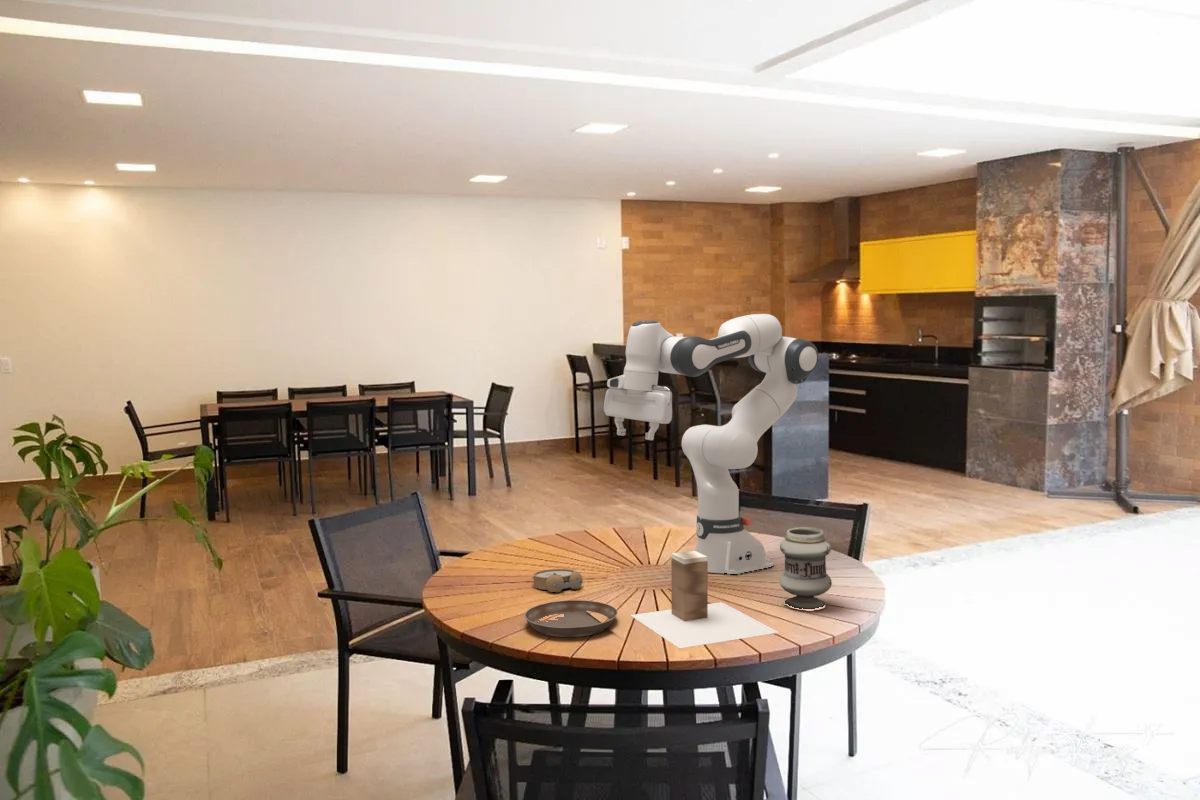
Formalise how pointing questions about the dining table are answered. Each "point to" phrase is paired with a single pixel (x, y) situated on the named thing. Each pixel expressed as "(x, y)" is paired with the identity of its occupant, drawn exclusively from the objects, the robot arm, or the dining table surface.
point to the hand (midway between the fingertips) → (634, 437)
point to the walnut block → (689, 585)
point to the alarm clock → (557, 579)
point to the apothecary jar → (805, 567)
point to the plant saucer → (570, 618)
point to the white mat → (704, 626)
